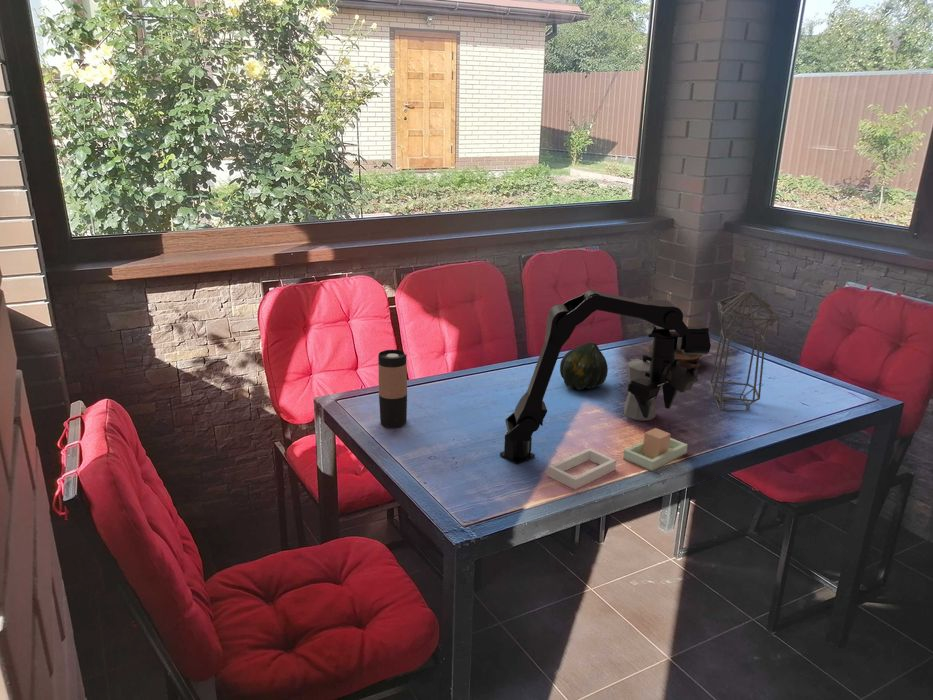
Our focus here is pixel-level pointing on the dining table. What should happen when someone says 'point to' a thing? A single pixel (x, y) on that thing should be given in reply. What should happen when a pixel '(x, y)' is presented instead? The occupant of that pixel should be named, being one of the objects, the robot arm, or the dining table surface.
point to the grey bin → (575, 482)
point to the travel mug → (392, 388)
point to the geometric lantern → (771, 316)
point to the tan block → (656, 443)
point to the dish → (685, 358)
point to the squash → (584, 367)
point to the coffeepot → (631, 406)
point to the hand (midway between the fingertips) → (656, 412)
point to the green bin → (637, 457)
